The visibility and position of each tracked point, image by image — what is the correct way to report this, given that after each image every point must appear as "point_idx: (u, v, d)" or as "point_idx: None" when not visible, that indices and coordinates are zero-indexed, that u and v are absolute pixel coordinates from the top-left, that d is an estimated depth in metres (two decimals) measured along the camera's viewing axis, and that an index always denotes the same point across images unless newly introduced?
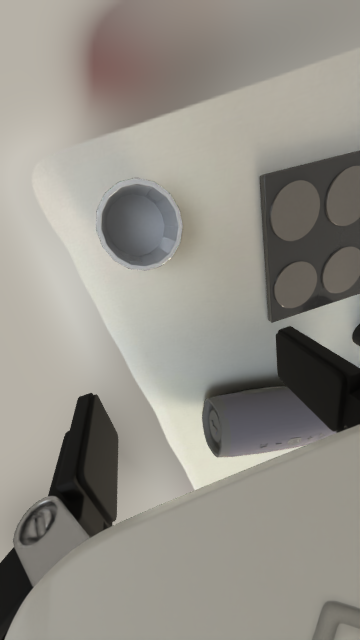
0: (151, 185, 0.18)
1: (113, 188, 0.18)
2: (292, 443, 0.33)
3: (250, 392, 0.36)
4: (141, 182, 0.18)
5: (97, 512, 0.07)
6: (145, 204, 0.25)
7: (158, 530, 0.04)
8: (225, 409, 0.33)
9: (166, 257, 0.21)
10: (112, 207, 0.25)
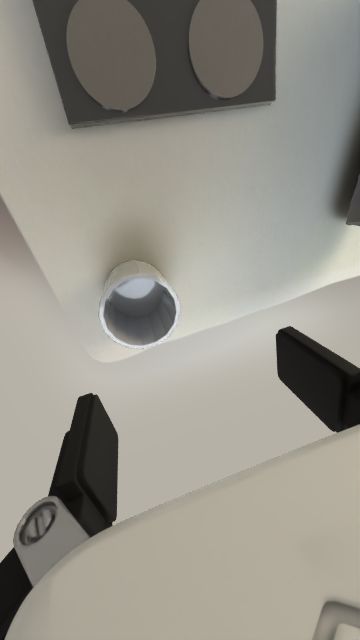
0: (103, 303, 0.19)
1: (109, 334, 0.21)
2: None
3: None
4: (102, 312, 0.20)
5: (97, 512, 0.07)
6: None
7: (158, 530, 0.04)
8: None
9: (169, 290, 0.20)
10: (120, 310, 0.28)
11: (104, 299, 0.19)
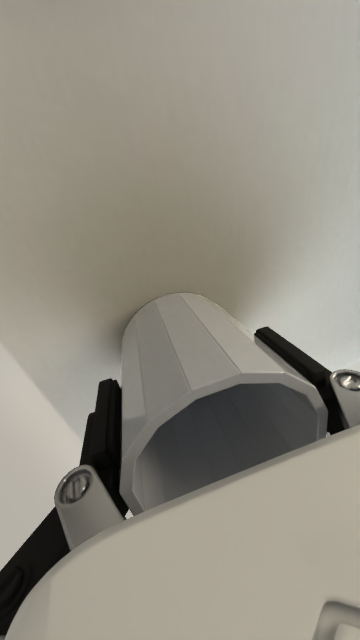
0: (133, 463, 0.06)
1: None
2: None
3: None
4: (129, 483, 0.07)
5: None
6: None
7: (159, 531, 0.04)
8: None
9: (312, 400, 0.07)
10: None
11: (135, 454, 0.06)
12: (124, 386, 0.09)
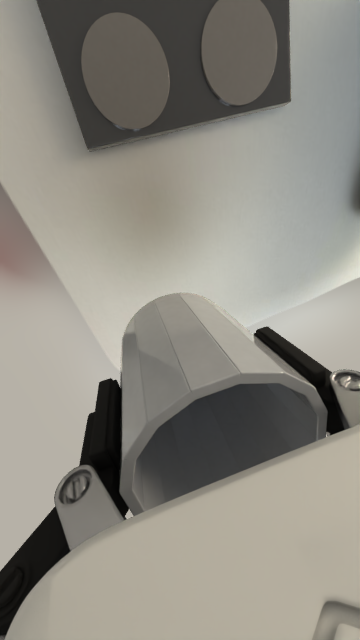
0: (133, 463, 0.06)
1: None
2: None
3: None
4: (129, 482, 0.07)
5: None
6: None
7: (158, 530, 0.04)
8: None
9: (312, 400, 0.07)
10: None
11: (135, 454, 0.06)
12: (124, 386, 0.09)
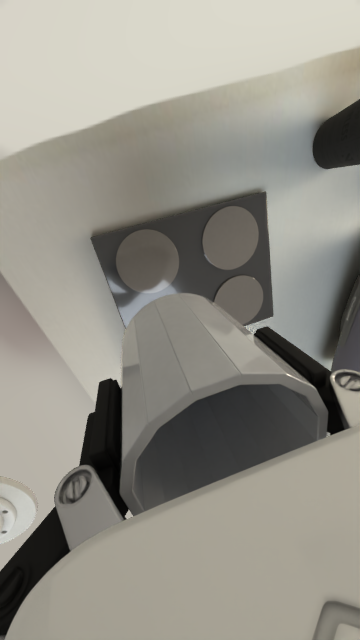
0: (133, 464, 0.06)
1: None
2: None
3: (344, 339, 0.34)
4: (129, 483, 0.07)
5: None
6: None
7: (158, 531, 0.04)
8: None
9: (312, 401, 0.07)
10: None
11: (135, 455, 0.06)
12: (124, 387, 0.09)
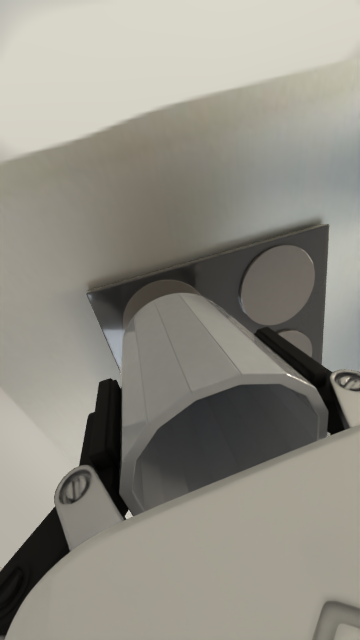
0: (133, 464, 0.06)
1: None
2: None
3: None
4: (129, 484, 0.07)
5: None
6: None
7: (158, 530, 0.04)
8: None
9: (313, 401, 0.07)
10: None
11: (135, 455, 0.06)
12: (124, 387, 0.09)
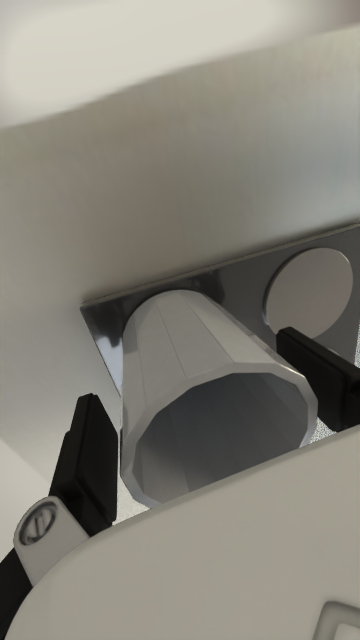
0: (133, 447, 0.07)
1: (148, 504, 0.08)
2: None
3: None
4: (129, 466, 0.07)
5: (97, 513, 0.07)
6: None
7: (158, 531, 0.04)
8: None
9: (302, 390, 0.08)
10: None
11: (134, 438, 0.07)
12: (124, 378, 0.09)
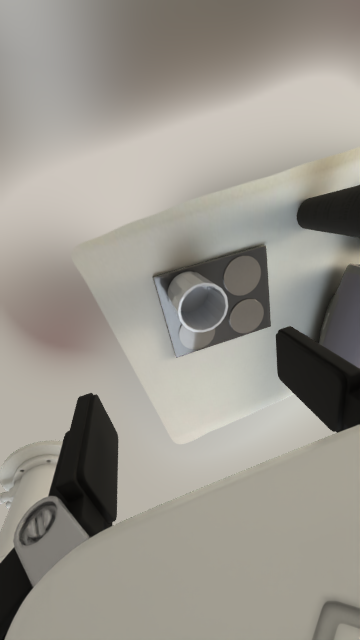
0: (181, 303, 0.30)
1: (183, 323, 0.31)
2: None
3: (321, 342, 0.47)
4: (180, 308, 0.30)
5: (97, 512, 0.07)
6: None
7: (158, 531, 0.04)
8: None
9: (221, 292, 0.31)
10: None
11: (181, 300, 0.30)
12: (175, 294, 0.33)
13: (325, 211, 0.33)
